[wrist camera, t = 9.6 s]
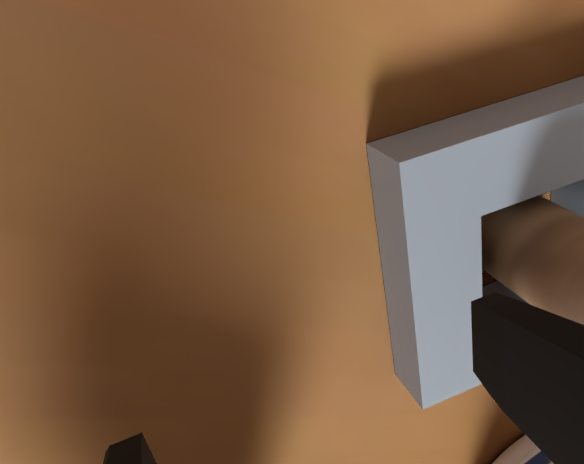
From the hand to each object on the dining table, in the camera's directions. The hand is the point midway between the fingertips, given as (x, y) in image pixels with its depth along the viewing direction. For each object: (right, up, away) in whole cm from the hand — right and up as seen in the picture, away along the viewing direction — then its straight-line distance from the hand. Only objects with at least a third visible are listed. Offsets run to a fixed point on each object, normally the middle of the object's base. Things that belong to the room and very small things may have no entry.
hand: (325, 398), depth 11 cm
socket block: (+9, +3, +13) cm, 16 cm away
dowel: (+9, +4, +13) cm, 16 cm away
